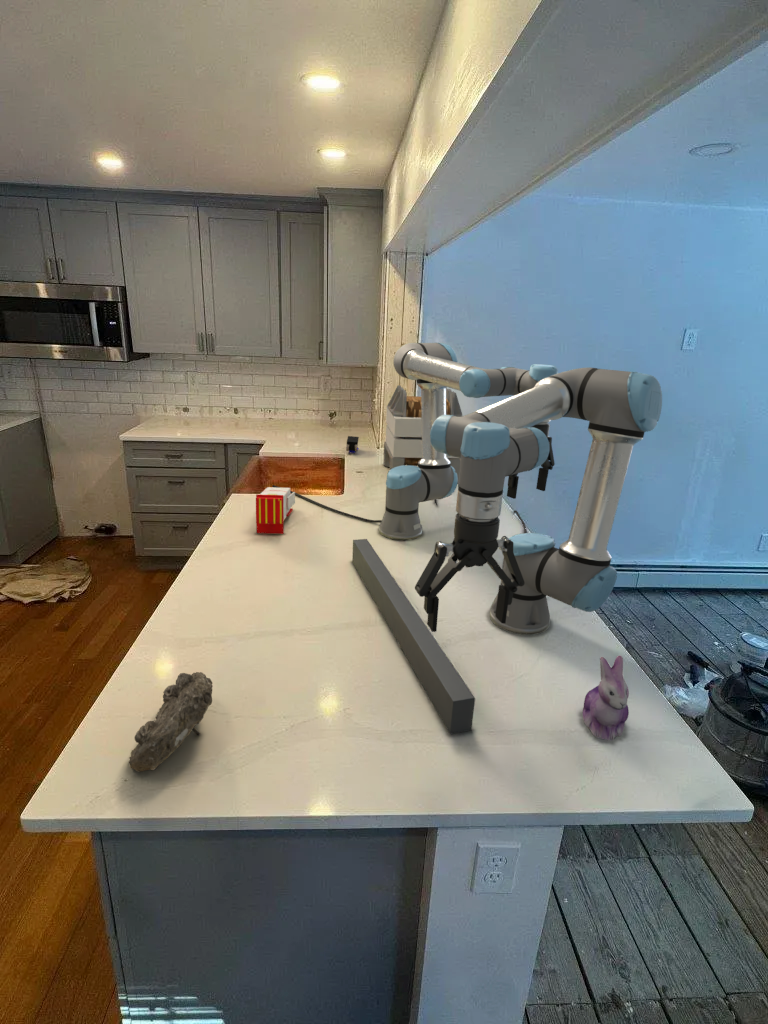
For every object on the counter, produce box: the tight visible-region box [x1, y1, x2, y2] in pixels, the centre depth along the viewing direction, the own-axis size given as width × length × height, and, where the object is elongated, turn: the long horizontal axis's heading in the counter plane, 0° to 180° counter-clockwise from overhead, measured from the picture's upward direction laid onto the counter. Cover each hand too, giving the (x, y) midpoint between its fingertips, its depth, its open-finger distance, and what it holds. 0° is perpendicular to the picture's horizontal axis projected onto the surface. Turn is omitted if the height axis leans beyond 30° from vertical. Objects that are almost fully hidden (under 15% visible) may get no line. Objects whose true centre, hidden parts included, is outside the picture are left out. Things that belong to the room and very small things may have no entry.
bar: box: [352, 538, 476, 735], centre depth 141 cm, size 78×4×8 cm, turn 17°
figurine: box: [581, 654, 630, 741], centre depth 108 cm, size 9×10×15 cm
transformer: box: [383, 384, 463, 484], centre depth 268 cm, size 34×33×41 cm
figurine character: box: [345, 435, 360, 455], centre depth 308 cm, size 7×8×15 cm
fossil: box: [128, 671, 213, 773], centre depth 102 cm, size 22×10×15 cm
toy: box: [255, 486, 296, 535], centre depth 206 cm, size 12×13×30 cm
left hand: (526, 493), depth 166 cm, fingers open, 13 cm apart
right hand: (466, 623), depth 104 cm, fingers open, 13 cm apart
